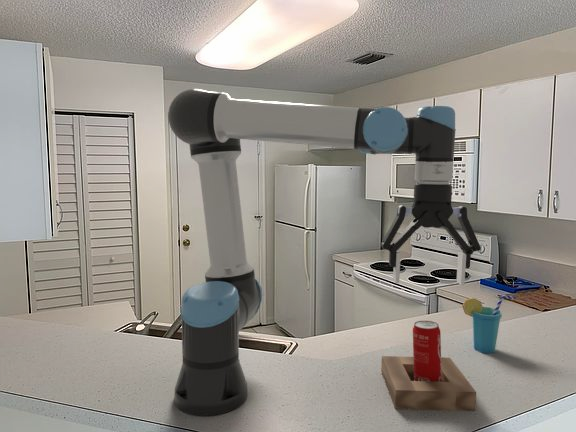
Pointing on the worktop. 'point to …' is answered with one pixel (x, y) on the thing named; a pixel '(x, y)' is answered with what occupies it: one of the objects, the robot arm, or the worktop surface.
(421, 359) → the beverage can
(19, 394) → the worktop surface
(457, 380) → the socket
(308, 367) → the worktop surface
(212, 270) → the robot arm
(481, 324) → the cup
